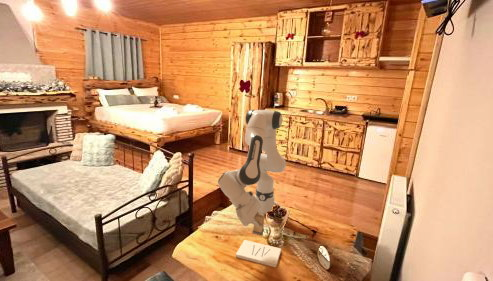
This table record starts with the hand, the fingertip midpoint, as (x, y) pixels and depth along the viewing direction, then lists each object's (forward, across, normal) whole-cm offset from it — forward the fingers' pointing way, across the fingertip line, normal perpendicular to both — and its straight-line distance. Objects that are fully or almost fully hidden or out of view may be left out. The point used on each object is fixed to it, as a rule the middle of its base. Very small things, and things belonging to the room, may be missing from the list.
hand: (260, 223), depth 125 cm
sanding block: (+3, 0, +4) cm, 5 cm away
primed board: (+12, 0, +12) cm, 17 cm away
